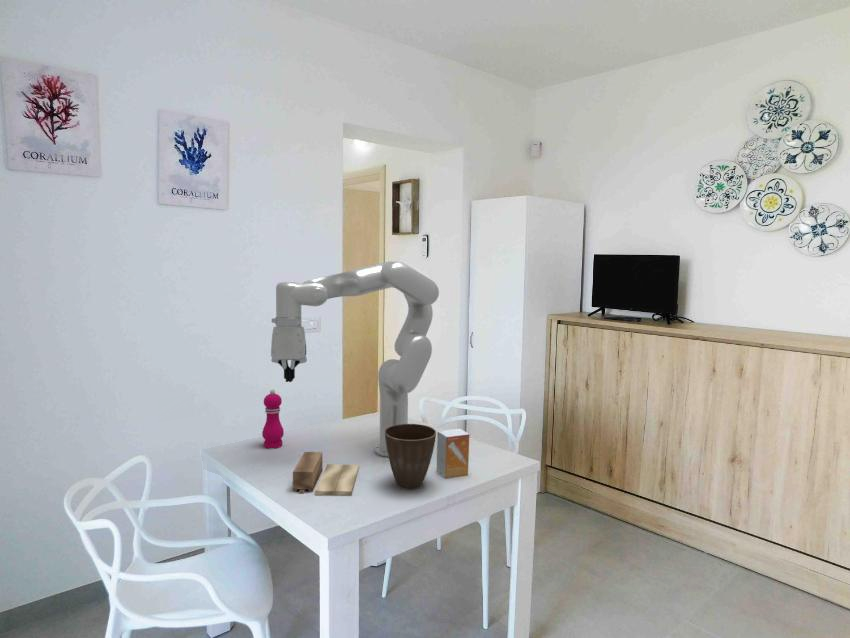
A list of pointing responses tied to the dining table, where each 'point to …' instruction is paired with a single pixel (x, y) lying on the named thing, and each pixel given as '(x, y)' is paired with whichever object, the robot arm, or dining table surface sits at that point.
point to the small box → (452, 453)
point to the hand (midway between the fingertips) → (289, 380)
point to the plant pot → (410, 453)
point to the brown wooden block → (307, 471)
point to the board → (337, 480)
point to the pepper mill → (272, 421)
